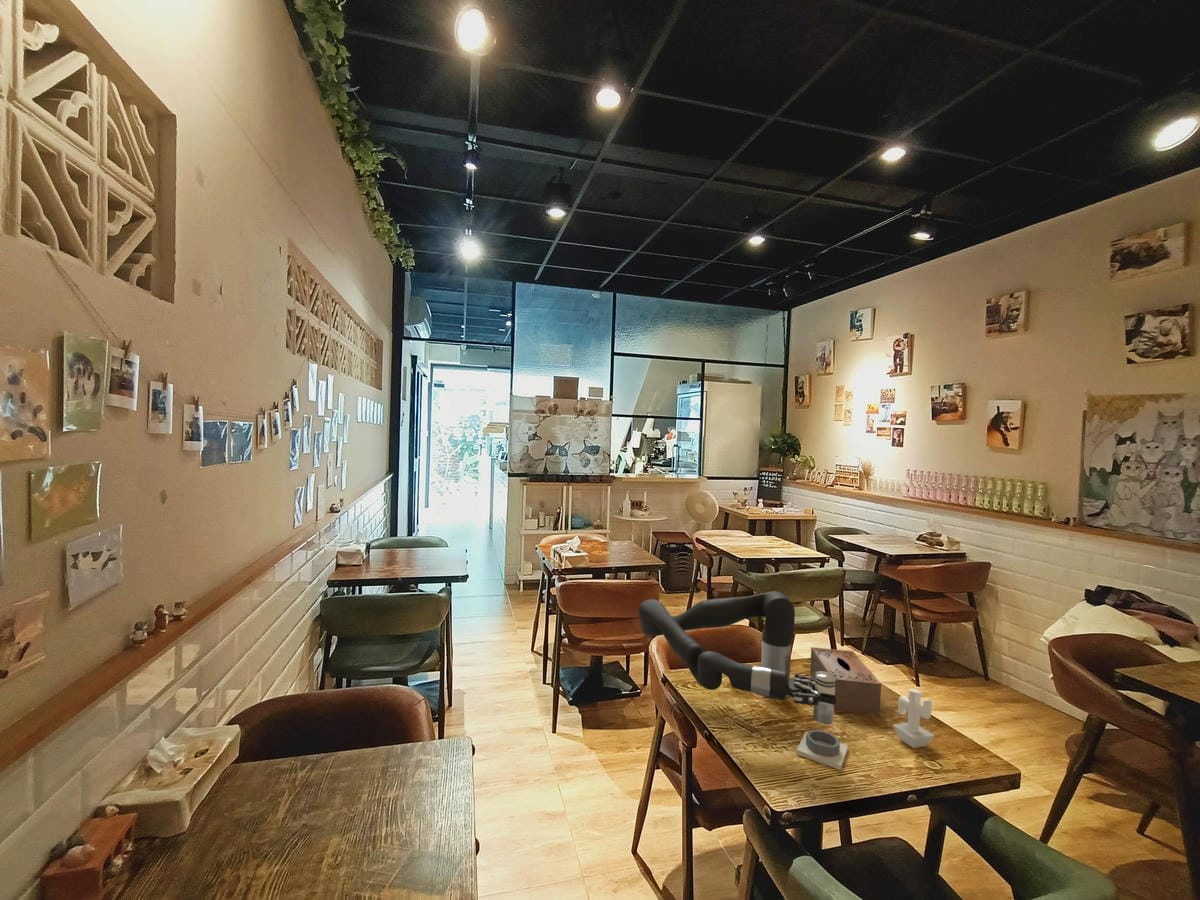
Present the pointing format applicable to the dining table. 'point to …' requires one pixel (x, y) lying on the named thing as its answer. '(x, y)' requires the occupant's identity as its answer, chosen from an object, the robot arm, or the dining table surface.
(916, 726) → the figurine
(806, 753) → the ring stand
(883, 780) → the dining table surface
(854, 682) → the tissue box cover
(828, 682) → the piston
